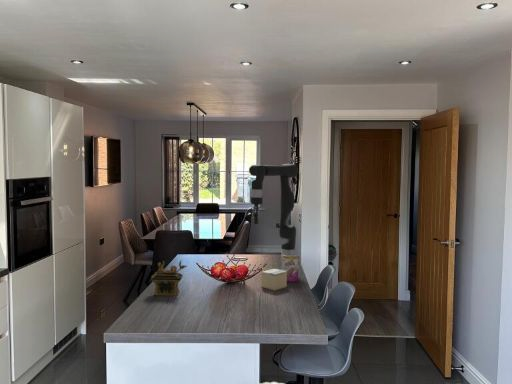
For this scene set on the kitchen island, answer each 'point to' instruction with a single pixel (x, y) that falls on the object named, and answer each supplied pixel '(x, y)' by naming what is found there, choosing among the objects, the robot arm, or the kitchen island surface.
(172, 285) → the decorative box
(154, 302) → the kitchen island surface
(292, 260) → the candy bar box
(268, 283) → the carton
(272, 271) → the lid flap
